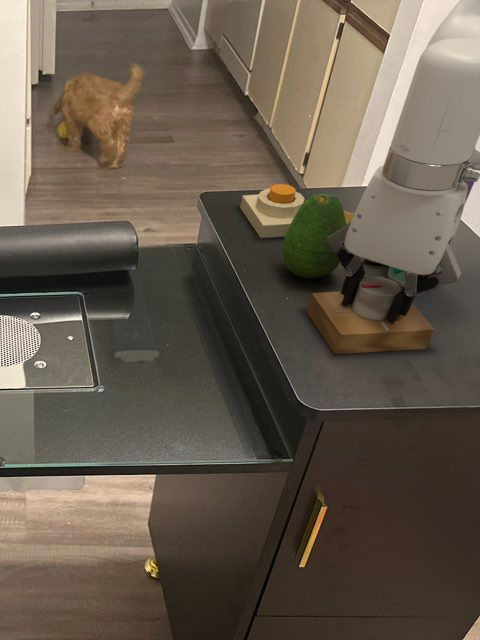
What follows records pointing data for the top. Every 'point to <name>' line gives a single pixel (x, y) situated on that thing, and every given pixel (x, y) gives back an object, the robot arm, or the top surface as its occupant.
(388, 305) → the knob
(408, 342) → the dial panel
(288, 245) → the fruit
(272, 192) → the button
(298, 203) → the button box
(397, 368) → the top surface
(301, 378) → the top surface
